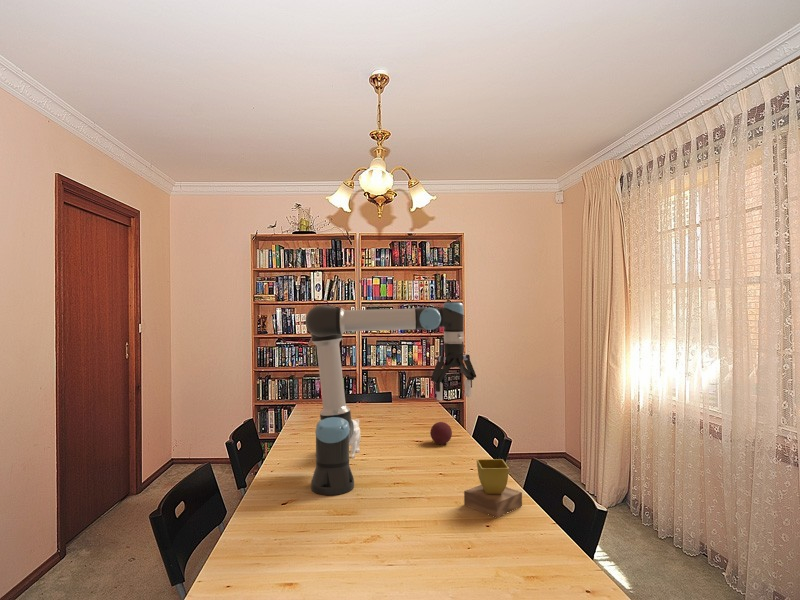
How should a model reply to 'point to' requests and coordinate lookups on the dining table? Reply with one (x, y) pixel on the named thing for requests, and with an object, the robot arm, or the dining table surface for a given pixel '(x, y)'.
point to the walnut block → (492, 501)
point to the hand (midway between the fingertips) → (454, 398)
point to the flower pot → (493, 475)
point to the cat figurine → (355, 438)
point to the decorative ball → (441, 432)
